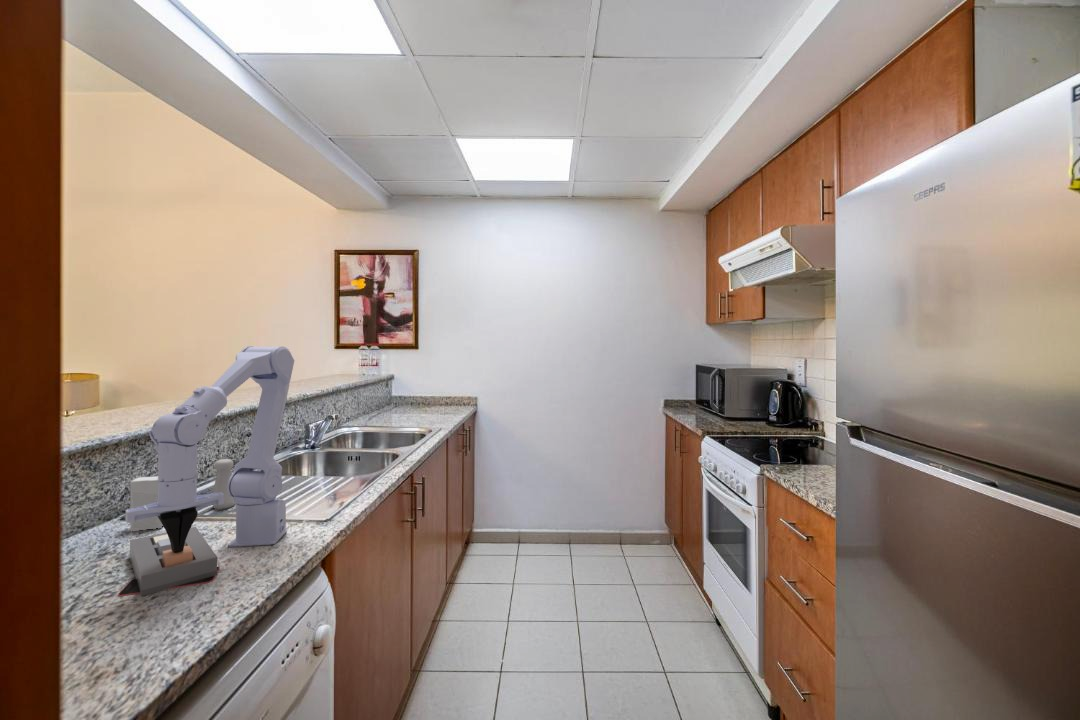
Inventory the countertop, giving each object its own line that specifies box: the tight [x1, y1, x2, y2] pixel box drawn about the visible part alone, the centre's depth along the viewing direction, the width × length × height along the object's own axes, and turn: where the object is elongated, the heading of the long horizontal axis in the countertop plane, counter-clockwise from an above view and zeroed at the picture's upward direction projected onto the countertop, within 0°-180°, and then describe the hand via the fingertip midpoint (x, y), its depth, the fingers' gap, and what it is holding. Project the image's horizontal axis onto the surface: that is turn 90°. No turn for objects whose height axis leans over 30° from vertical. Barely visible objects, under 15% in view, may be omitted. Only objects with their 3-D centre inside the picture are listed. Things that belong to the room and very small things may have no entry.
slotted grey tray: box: [129, 526, 218, 597], centre depth 92 cm, size 22×11×4 cm, turn 45°
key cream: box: [153, 534, 169, 545], centre depth 97 cm, size 4×4×2 cm
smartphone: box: [117, 566, 221, 598], centre depth 86 cm, size 7×1×14 cm
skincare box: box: [129, 475, 164, 532], centre depth 112 cm, size 6×4×12 cm
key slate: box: [158, 538, 186, 555], centre depth 92 cm, size 4×4×2 cm
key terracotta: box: [162, 545, 193, 567], centre depth 87 cm, size 4×4×2 cm
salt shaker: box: [211, 458, 235, 510], centre depth 128 cm, size 6×6×13 cm
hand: (177, 550), depth 87 cm, fingers closed
